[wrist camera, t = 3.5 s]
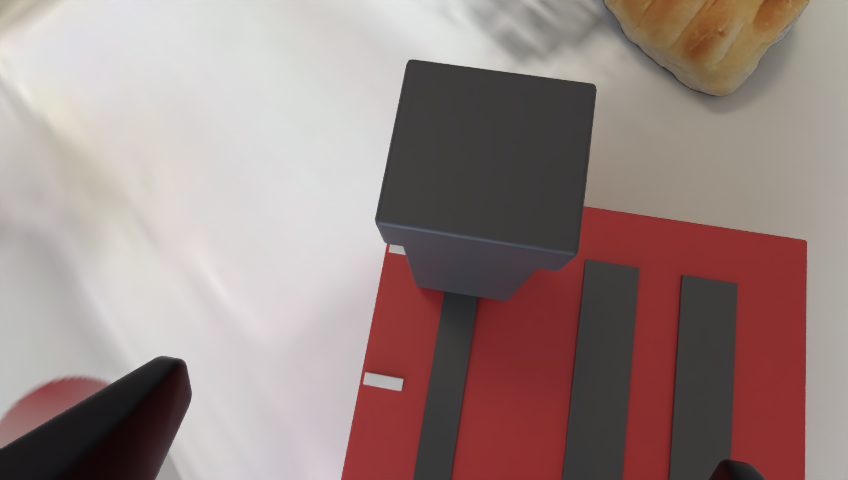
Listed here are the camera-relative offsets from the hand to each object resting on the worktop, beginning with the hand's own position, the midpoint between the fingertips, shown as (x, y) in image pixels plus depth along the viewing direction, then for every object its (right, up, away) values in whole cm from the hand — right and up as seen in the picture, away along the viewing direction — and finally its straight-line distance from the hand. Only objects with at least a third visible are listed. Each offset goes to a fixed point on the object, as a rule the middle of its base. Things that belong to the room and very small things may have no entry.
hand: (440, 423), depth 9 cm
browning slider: (+1, +3, +5) cm, 6 cm away
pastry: (+12, +13, +16) cm, 24 cm away
